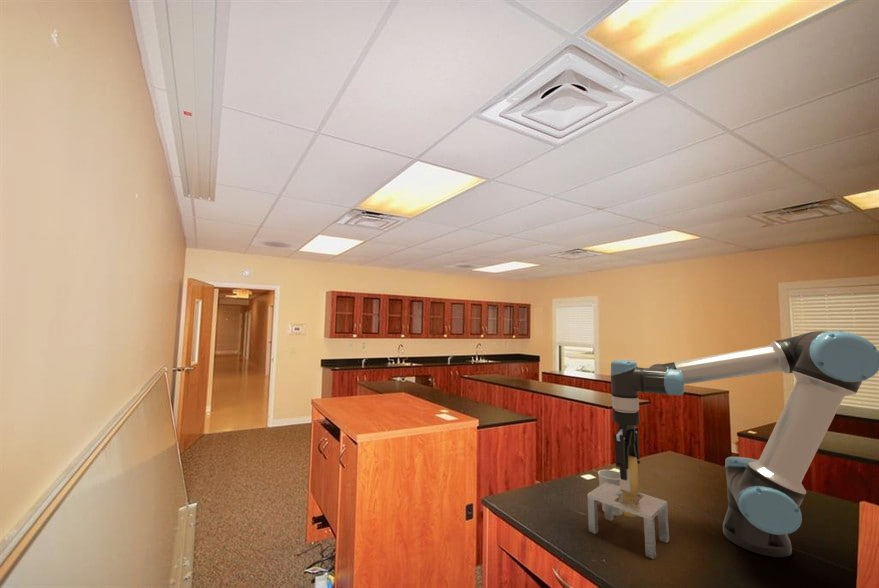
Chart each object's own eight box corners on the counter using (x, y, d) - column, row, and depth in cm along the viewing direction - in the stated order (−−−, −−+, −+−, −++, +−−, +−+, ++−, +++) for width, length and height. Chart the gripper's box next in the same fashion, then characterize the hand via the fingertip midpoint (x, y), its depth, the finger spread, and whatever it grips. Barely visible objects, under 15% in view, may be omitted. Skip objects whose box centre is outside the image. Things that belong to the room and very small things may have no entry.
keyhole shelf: (669, 540, 105) (666, 501, 106) (653, 559, 97) (651, 516, 98) (607, 516, 119) (605, 481, 120) (588, 531, 110) (587, 493, 111)
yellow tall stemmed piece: (642, 513, 110) (639, 458, 111) (635, 519, 106) (633, 462, 108) (625, 507, 113) (622, 453, 115) (618, 513, 110) (616, 457, 112)
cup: (598, 513, 121) (597, 476, 122) (600, 503, 128) (598, 468, 129) (625, 519, 117) (623, 480, 118) (625, 508, 124) (623, 472, 125)
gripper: (624, 404, 121) (628, 475, 119) (600, 412, 110) (604, 492, 107) (648, 407, 116) (652, 482, 114) (626, 417, 104) (630, 501, 102)
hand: (629, 487), depth 111 cm, fingers closed on yellow tall stemmed piece, 5 cm apart
